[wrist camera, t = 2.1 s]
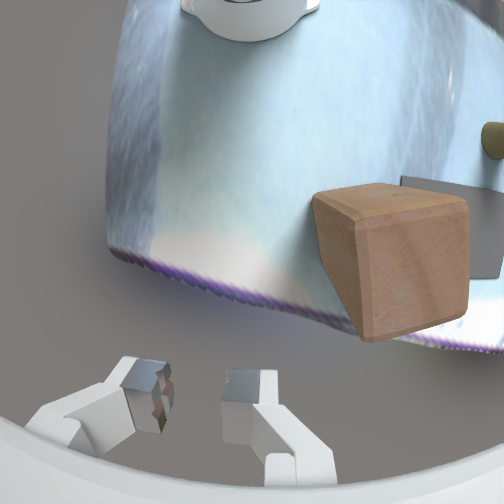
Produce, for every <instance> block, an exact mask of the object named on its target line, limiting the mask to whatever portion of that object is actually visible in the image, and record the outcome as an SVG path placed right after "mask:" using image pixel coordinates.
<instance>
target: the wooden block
mask: <svg viewBox="0 0 504 504" xmlns="http://www.w3.org/2000/svg"><path fill="white" fill-rule="evenodd" d="M312 207H313V213H314V219H315V225H316V231H317V237H318V244H319V250H320V257H321V263H322V265H323V267H324V269H325V271H326V273H327V275H328V276H329V278H330V280H331V282H332V284H333V286H334V288H335V290H336V292H337V294H338V296H339V297H340V299H341V301H342V303H343V305H344V307H345V309H346V311H347V313H348V315H349V317H350V319H351V321H352V323H353V325H354V327H355V329H356V331H357V333H358V335H359V337H360V338H361V340H362V341H364V342H367V343H375V342H379V341H383V340H387V339H391V338H395V337H398V336H402V335H406V334H409V333H413V332H416V331H420V330H423V329H427V328H430V327H433V326H437V325H440V324H443V323H446V322H449V321H452V320H455V319H458V318H461V317H462V316H463V315H464V314H465V313H466V310H467V308H468V296H469V281H470V213H469V207H468V204H467V202H466V201H465V200H464V199H463V198H460V197H458V196H454V195H449V194H444V193H438V192H433V191H427V190H422V189H416V188H410V187H404V186H398V185H391V184H384V183H372V184H365V185H359V186H353V187H346V188H340V189H334V190H328V191H322V192H318V193H316V194H315V195H313V197H312Z"/></svg>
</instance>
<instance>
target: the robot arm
mask: <svg viewBox="0 0 504 504" xmlns="http://www.w3.org/2000/svg"><path fill="white" fill-rule="evenodd" d="M181 6H182V9H183V10H184V11H186V12H188V13H190V14H192V15H195V16H197V17H198V18H199V19H200V20H201V21H202V23H203V24H204V25H205V26H206V27H207V28H208V29H209V30H211V31H212V32H213V33H215V34H217V35H219V36H221V37H224V38H227V39H230V40H235V41H244V42H252V41H261V40H266V39H270V38H273V37H275V36H278V35H280V34H282V33H284V32H285V31H287V30H288V29H290V28H291V27H292V26H293V25H294V24H295V23H296V22H297V21H298V20H299V19H300V18H301V17H302V16H303V15H305V14H308V13H310V12H312V11H315V10H316V9H318V8H319V6H320V0H182V1H181ZM170 375H171V368H170V364H169V363H168V362H161V361H155V360H148V359H142V358H136V357H130V356H124V357H122V359H121V360H120V361H119V363H118V364H117V366H116V367H115V369H114V370H113V371H112V372H111V374H110V375H109V377H108V378H107V379H106V381H105V382H104V383H98V384H95V385H93V386H90V387H88V388H86V389H83V390H81V391H79V392H76V393H74V394H71V395H69V396H66V397H64V398H61V399H59V400H57V401H54V402H51V403H49V404H46V405H44V406H42V407H41V408H40V409H39V410H38V411H37V413H36V414H35V415H34V416H33V417H32V419H31V420H30V421H29V422H28V424H27V425H26V426H25V427H24V428H22V427H20V426H18V425H16V424H14V423H12V422H10V421H9V420H7V419H5V418H3V417H1V416H0V504H504V443H502V444H500V445H497V446H495V447H492V448H490V449H488V450H485V451H482V452H480V453H477V454H474V455H471V456H469V457H466V458H463V459H460V460H457V461H453V462H450V463H447V464H444V465H440V466H437V467H433V468H430V469H425V470H422V471H417V472H413V473H409V474H405V475H400V476H395V477H389V478H384V479H378V480H372V481H365V482H358V483H349V484H340V485H338V482H337V477H336V471H335V464H334V459H333V453H332V450H331V449H330V448H328V447H327V446H326V445H325V444H324V443H323V442H322V441H321V440H320V439H318V438H317V437H316V436H315V435H314V434H313V433H312V432H311V431H310V430H309V429H308V428H307V427H306V426H305V425H304V424H303V423H302V422H301V421H299V420H298V419H297V418H296V417H295V416H294V415H293V414H292V413H291V412H290V411H289V410H288V409H287V408H286V407H285V406H284V405H278V371H277V370H261V371H260V370H243V369H227V372H226V384H225V385H224V386H223V391H222V396H221V401H220V403H221V418H222V419H223V425H222V436H223V443H231V444H241V445H251V447H252V448H253V450H254V451H255V453H256V454H257V456H258V457H259V459H260V460H261V462H262V463H263V465H264V466H265V470H264V480H263V487H251V486H234V485H224V484H214V483H205V482H198V481H191V480H185V479H179V478H173V477H168V476H163V475H158V474H153V473H149V472H145V471H140V470H136V469H133V468H129V467H125V466H121V465H118V464H114V463H111V462H108V461H104V460H101V459H98V457H100V456H101V455H103V454H104V453H106V452H107V451H108V450H110V449H111V448H113V447H114V446H116V445H117V444H118V443H120V442H121V441H122V440H124V439H126V438H127V437H128V436H130V435H131V434H133V433H134V432H135V431H136V430H140V431H146V432H151V433H157V434H161V433H162V431H163V428H164V426H165V423H166V420H167V419H166V413H167V412H169V411H170V410H171V408H172V405H173V399H174V387H173V383H172V382H171V381H170V380H169V377H170ZM259 385H260V386H259Z"/></svg>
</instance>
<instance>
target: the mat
mask: <svg viewBox="0 0 504 504" xmlns="http://www.w3.org/2000/svg"><path fill="white" fill-rule="evenodd" d="M401 186H404V187H410V188H416V189H422V190H427V191H433V192H438V193H444V194H449V195H454V196H458V197H460V198H463V199H464V200H465V201H466V202H467V204H468V207H469V213H470V278H499V275H500V271H501V266H502V261H503V256H504V193H501V192H496V191H492V190H487V189H482V188H476V187H471V186H466V185H460V184H454V183H448V182H442V181H436V180H429V179H422V178H415V177H407V176H401Z"/></svg>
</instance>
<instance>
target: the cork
mask: <svg viewBox="0 0 504 504" xmlns="http://www.w3.org/2000/svg"><path fill="white" fill-rule="evenodd" d="M481 138H482V144H483V147H484V149H485V152H486V153H487V154H488V156H489V157H491V158H492V159H496V160H498V159H503V158H504V123H500V122H487V123H486V124H485V125H484V127H483V129H482V134H481Z"/></svg>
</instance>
